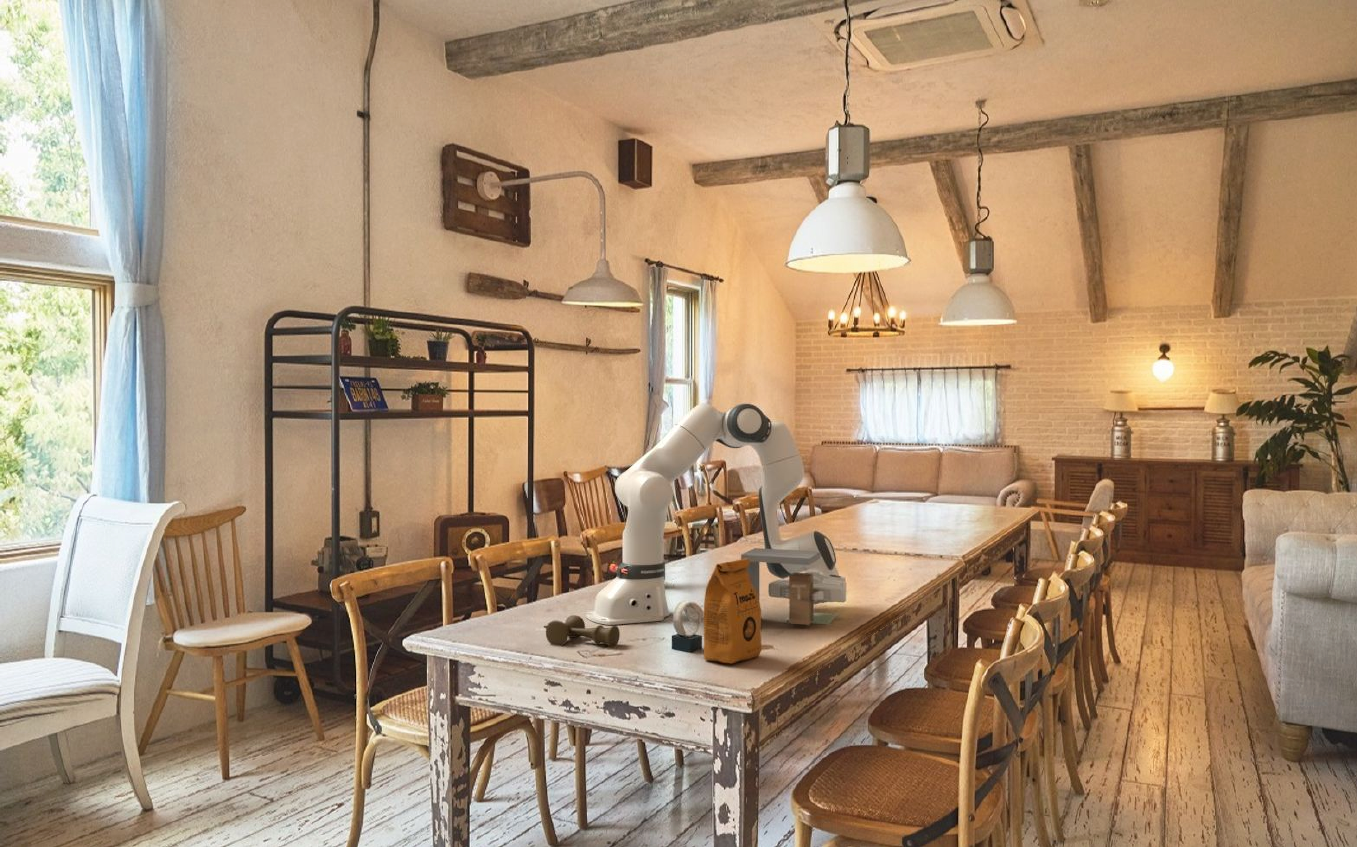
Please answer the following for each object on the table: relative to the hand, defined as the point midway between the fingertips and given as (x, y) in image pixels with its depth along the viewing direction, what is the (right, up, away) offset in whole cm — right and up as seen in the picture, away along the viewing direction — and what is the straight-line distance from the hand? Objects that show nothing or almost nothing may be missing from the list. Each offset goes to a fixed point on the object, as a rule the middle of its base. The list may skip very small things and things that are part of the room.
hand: (800, 596), depth 239 cm
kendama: (-54, -9, -14) cm, 57 cm away
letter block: (0, -7, +1) cm, 7 cm away
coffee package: (-19, -9, -29) cm, 36 cm away
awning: (-5, -8, +3) cm, 10 cm away
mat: (+4, -8, +11) cm, 14 cm away
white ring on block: (-29, -9, -20) cm, 36 cm away
